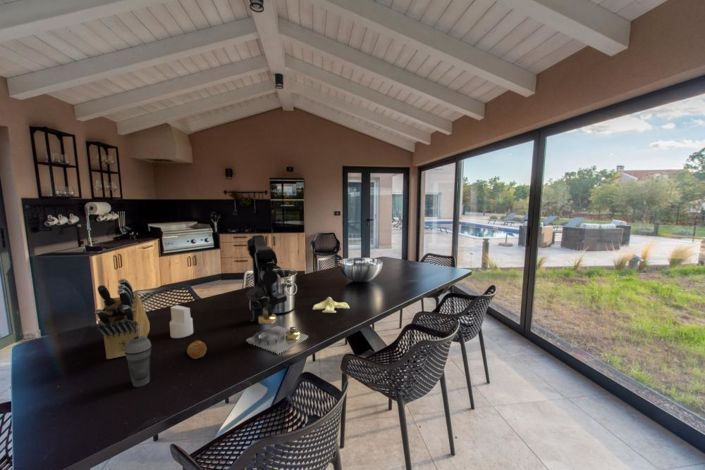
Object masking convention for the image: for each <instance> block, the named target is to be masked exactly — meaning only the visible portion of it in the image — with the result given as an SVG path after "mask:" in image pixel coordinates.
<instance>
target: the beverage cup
mask: <svg viewBox="0 0 705 470" xmlns="http://www.w3.org/2000/svg"><path fill="white" fill-rule="evenodd" d="M152 348H153V347H152V343H151V341H150V339H149V338H148V337H147V338H146V337H143V336H141V324H139V336H137V337H134V338H132V339H131V340H130V341H129V342H128V343H127V345H126V347H125V355H126V356H125V358H126V360H127V363H128V370H129V375H130V379H131V382H132V386H133V387H136V388H139V387H142V386H143V387H144V386H145V385H147V384H148V383H150V378H151V377H150V376H151V353H152Z"/></svg>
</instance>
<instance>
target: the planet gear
mask: <svg viewBox="0 0 705 470" xmlns="http://www.w3.org/2000/svg"><path fill="white" fill-rule="evenodd" d="M276 321H277V315H276V314H274V313H272V315H271V316H270V317H269V315H268V307H267V306H265V307H263V315H261V316H259V324H260V325H271V324H275V322H276Z"/></svg>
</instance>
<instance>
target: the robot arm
mask: <svg viewBox="0 0 705 470" xmlns="http://www.w3.org/2000/svg"><path fill="white" fill-rule="evenodd" d="M246 251H247V252H248V256H249V257H250V258H251V262H252V263H251V264H252V276H253V277H252V278H253V280H252V281H253V287H252V288H251V289H248V290H247V291H246V293H245V294H246V296H247V299H248V301H249V302H248V305H249V311H250V312H252V319H250V320H249V321H250V322H252V323H254V324H257V325H258V324H260V323H259V316H261V315H263V307H265V306H267V307H268V315H269V317H270V316H271V315H272V314H274V310H275V308H276V306H277V305H279V304H282V303H284V302H287V301H288V297H287V295H286V294H285V293H282V292H278V293H277V292H276V291H277V290H276V289H274V285H275V283H276V282H277V281H278V279H279V278H278V276H279V275H278V274H277V272H276V271H275V270H274V268H275V267H277V265H278V258H277V254H276V252H275V251H274V249H273V248H272V247H271V246H267V242H266V239H265V237H264V235H262V234H256V235H255V234H254V235H252V236H251V238H249V239H248V240H247V241H246Z"/></svg>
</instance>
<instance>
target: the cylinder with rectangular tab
mask: <svg viewBox="0 0 705 470" xmlns="http://www.w3.org/2000/svg"><path fill="white" fill-rule="evenodd" d="M170 314H171V315H170V317H171V320H170V321H169V335H170V337H171V338H172V339H181V338H185V337H189V336H191V335H193V333H194V323H193V322H194V321H193V320H194V319H193V317H191V308H190V307H186V306H182V305H179V304H177V305H173V306H171V307H170Z"/></svg>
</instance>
